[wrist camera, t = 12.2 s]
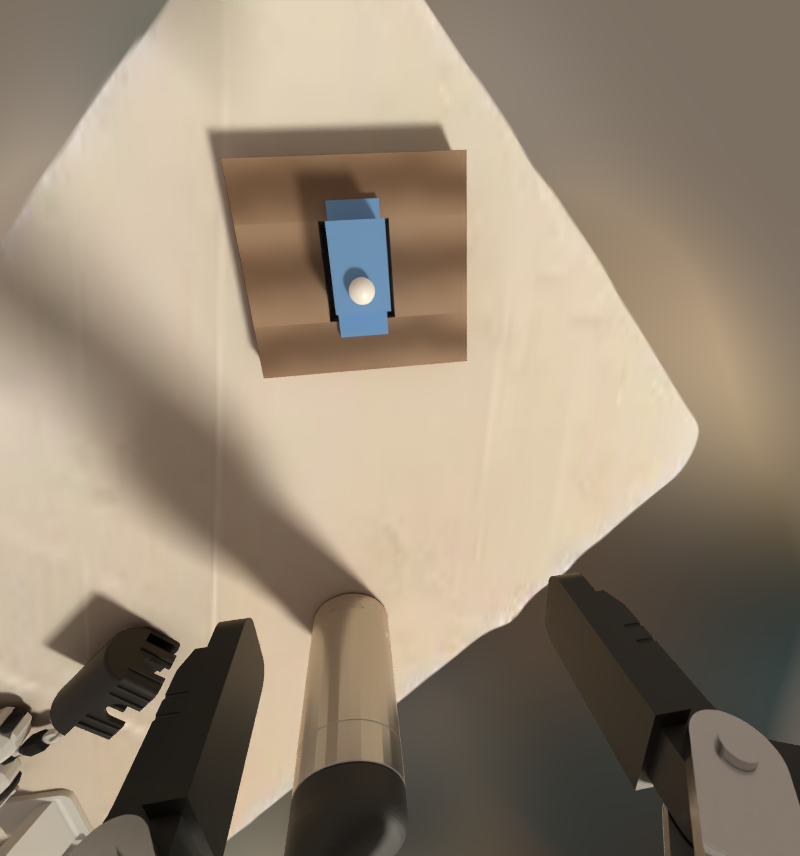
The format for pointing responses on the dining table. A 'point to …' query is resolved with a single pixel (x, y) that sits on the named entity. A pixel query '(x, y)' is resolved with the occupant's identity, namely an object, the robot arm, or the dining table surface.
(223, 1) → the dining table surface
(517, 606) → the dining table surface
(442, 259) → the board
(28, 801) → the phone holder
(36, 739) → the robot toy
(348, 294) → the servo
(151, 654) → the end cap
